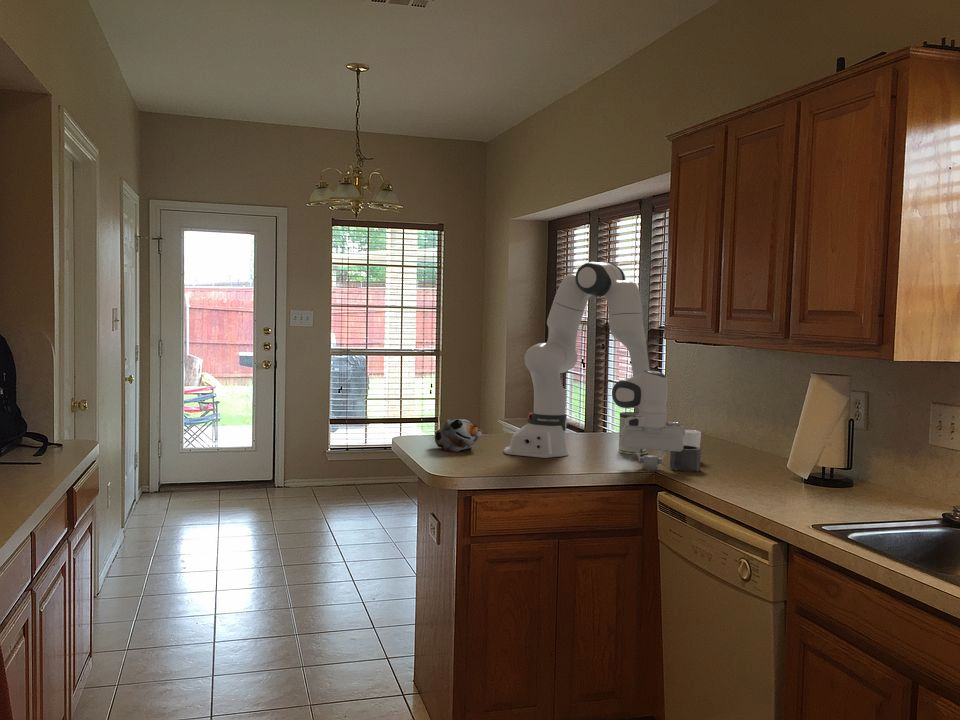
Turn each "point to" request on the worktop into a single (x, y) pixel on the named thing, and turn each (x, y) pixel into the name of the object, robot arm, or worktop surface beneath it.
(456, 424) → the lucky cat figurine
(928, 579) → the worktop surface
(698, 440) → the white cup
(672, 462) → the dark grey cylinder
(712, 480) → the worktop surface
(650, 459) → the cap
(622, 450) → the coffee can
